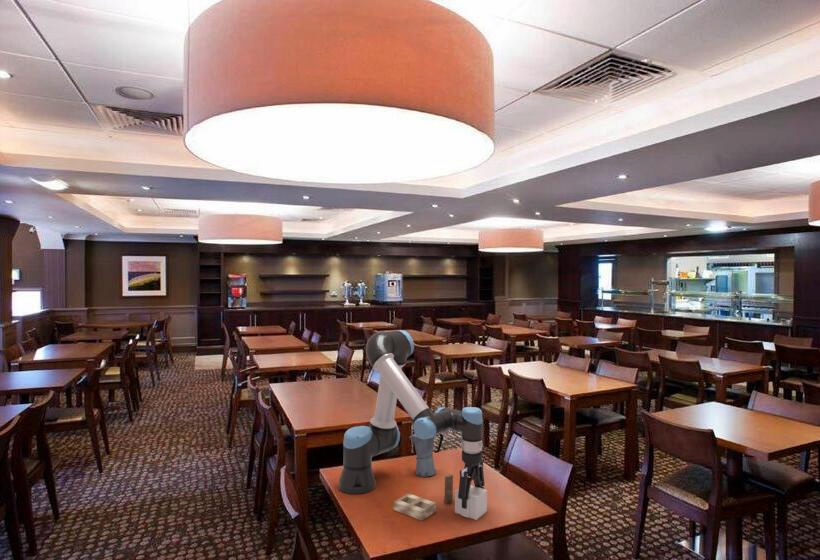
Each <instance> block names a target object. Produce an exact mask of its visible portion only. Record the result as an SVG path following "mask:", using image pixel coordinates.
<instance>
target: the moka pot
mask: <svg viewBox="0 0 820 560" xmlns="http://www.w3.org/2000/svg"><path fill="white" fill-rule="evenodd" d="M437 437H440V438H439V443H438V447H437V450H434V444H435V442H434V441H435V438H437ZM409 439H410V440H411V442H412V443H413V445H414V448H415V449H414V450H415V452H416V457H415V460H416V463H415V464H416V466H415V467H416V468H415V474H416V475H417V476H419V477H423V478H428V477H431V476H434V475H436V467H435V462H434V455H433V453H434V454H436V453H440V451H441V447H442V445H443V440H444V435H443V433H441V434H438V435H436V436H434V437H432V438H428V439H419V438H418V437H417V436H416V435H415V433H414V434H411V435H410V436H409ZM433 451H434V452H433Z"/></svg>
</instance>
